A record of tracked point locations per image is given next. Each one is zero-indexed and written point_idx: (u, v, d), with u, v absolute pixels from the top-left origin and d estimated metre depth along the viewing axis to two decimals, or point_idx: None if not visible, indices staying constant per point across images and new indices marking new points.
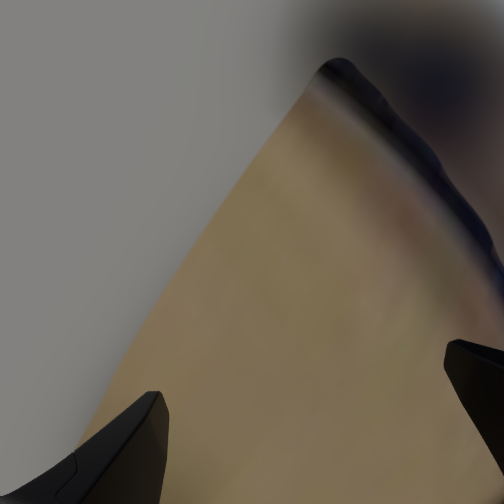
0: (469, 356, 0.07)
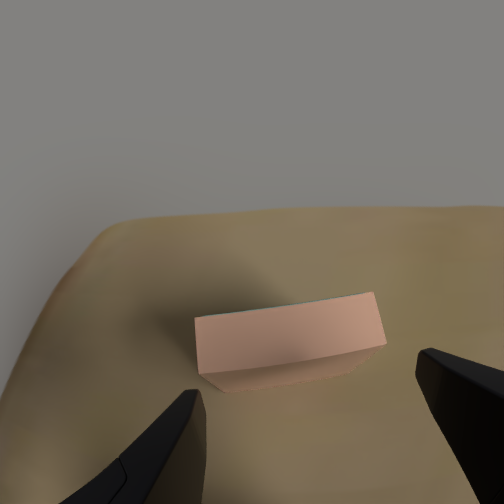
0: (439, 367, 0.07)
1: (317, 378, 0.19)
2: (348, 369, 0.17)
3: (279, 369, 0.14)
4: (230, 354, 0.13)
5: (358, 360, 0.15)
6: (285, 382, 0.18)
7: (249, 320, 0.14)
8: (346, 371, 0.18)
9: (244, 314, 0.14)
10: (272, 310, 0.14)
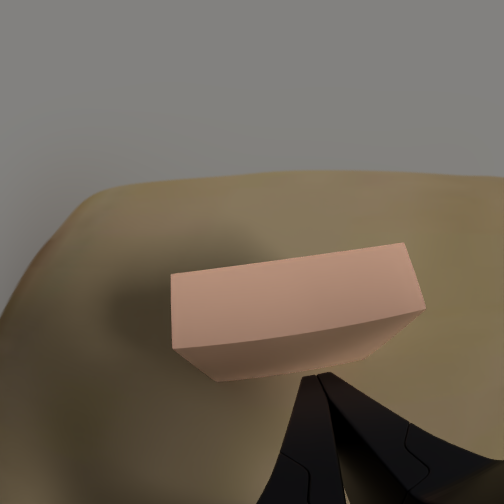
0: (325, 397, 0.07)
1: (329, 364, 0.15)
2: (368, 351, 0.14)
3: (284, 345, 0.10)
4: (216, 322, 0.09)
5: (384, 336, 0.12)
6: (290, 368, 0.15)
7: (243, 276, 0.10)
8: (365, 354, 0.15)
9: (237, 269, 0.10)
10: (274, 263, 0.10)
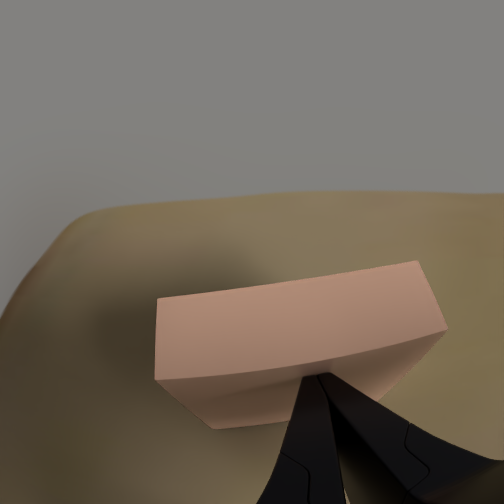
0: (325, 397, 0.07)
1: None
2: (381, 391, 0.12)
3: (286, 381, 0.09)
4: (207, 350, 0.08)
5: (400, 370, 0.10)
6: None
7: (238, 301, 0.09)
8: (377, 395, 0.12)
9: (231, 293, 0.09)
10: (274, 286, 0.09)
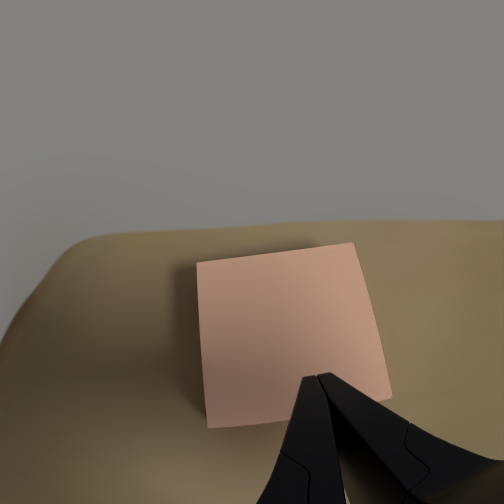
0: (326, 396, 0.07)
1: None
2: (373, 350, 0.13)
3: (267, 277, 0.15)
4: None
5: (356, 294, 0.15)
6: (294, 382, 0.13)
7: None
8: (378, 366, 0.13)
9: None
10: None
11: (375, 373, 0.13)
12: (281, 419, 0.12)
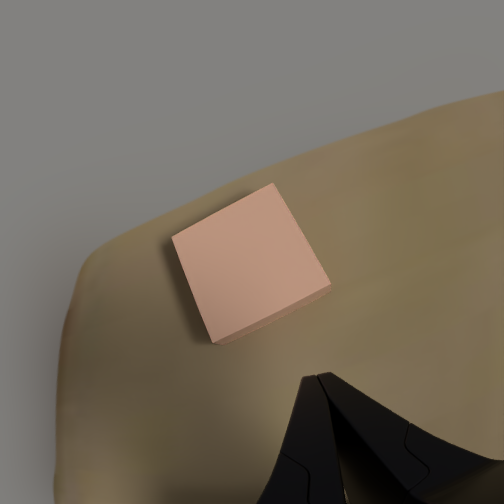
0: (326, 396, 0.07)
1: (293, 288, 0.19)
2: (306, 254, 0.20)
3: (219, 228, 0.22)
4: None
5: (284, 219, 0.21)
6: (257, 292, 0.20)
7: None
8: (313, 264, 0.19)
9: None
10: None
11: (312, 269, 0.19)
12: (256, 320, 0.19)
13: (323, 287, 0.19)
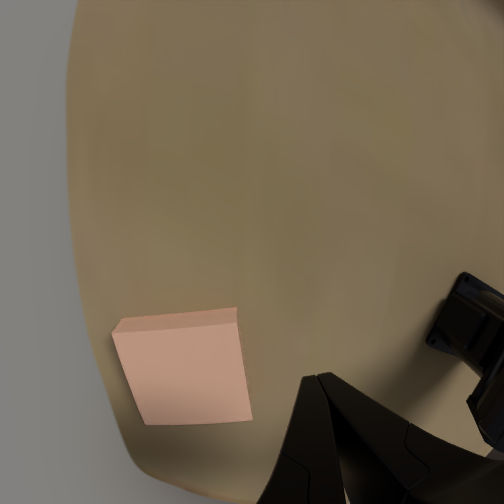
0: (326, 396, 0.07)
1: (228, 354, 0.19)
2: (198, 333, 0.19)
3: (148, 390, 0.20)
4: None
5: (154, 338, 0.19)
6: (220, 381, 0.20)
7: None
8: (211, 331, 0.19)
9: None
10: None
11: (216, 333, 0.19)
12: (246, 387, 0.20)
13: (237, 329, 0.19)
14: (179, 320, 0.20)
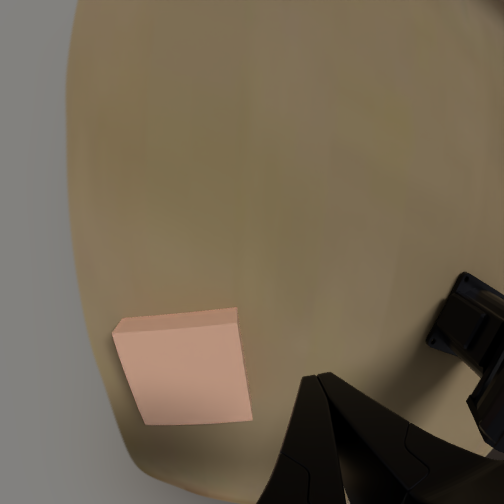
0: (326, 396, 0.07)
1: (228, 354, 0.19)
2: (198, 333, 0.19)
3: (148, 391, 0.20)
4: None
5: (155, 338, 0.19)
6: (221, 381, 0.20)
7: None
8: (211, 331, 0.19)
9: None
10: None
11: (216, 333, 0.19)
12: (246, 388, 0.20)
13: (237, 329, 0.19)
14: (179, 320, 0.20)
